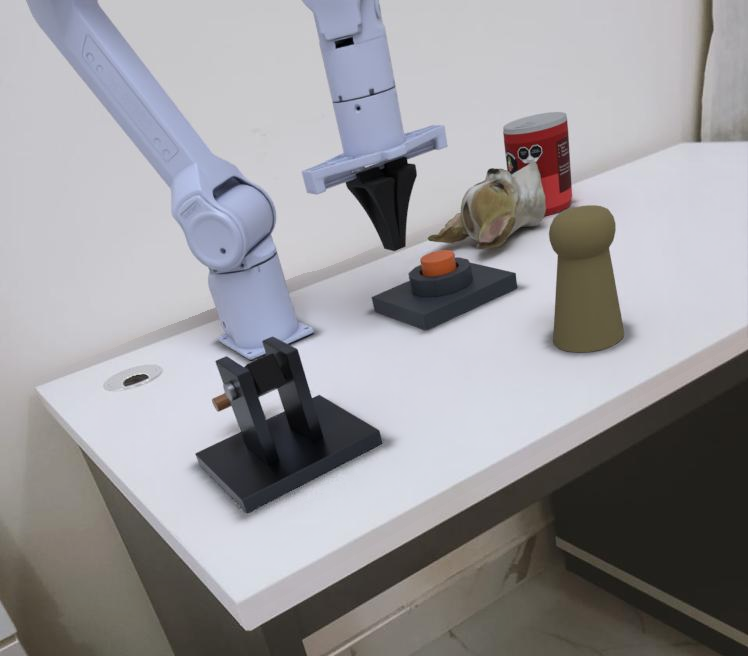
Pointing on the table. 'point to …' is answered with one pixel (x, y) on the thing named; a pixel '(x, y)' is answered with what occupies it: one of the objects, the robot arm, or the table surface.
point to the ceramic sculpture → (497, 208)
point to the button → (438, 263)
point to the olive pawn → (585, 280)
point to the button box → (443, 294)
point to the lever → (258, 379)
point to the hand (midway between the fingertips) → (394, 247)
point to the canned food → (542, 154)
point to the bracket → (281, 434)
